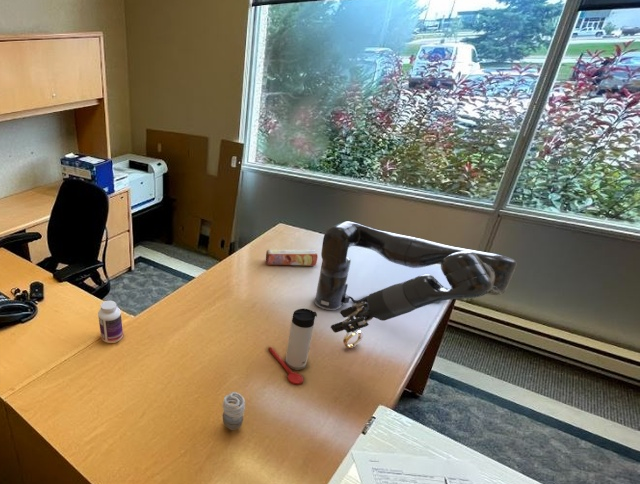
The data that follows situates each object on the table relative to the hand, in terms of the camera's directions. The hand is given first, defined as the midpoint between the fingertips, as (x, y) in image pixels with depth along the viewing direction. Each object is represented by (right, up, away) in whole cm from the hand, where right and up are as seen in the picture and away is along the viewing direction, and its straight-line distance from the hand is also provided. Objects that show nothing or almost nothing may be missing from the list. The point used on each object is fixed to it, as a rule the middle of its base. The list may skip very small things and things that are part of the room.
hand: (337, 321), depth 118 cm
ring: (+15, -11, +20) cm, 27 cm away
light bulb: (-31, -29, -5) cm, 43 cm away
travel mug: (-6, -16, +15) cm, 22 cm away
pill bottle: (-66, -10, +33) cm, 74 cm away
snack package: (+14, +17, +71) cm, 74 cm away
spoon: (-10, -16, +15) cm, 24 cm away
